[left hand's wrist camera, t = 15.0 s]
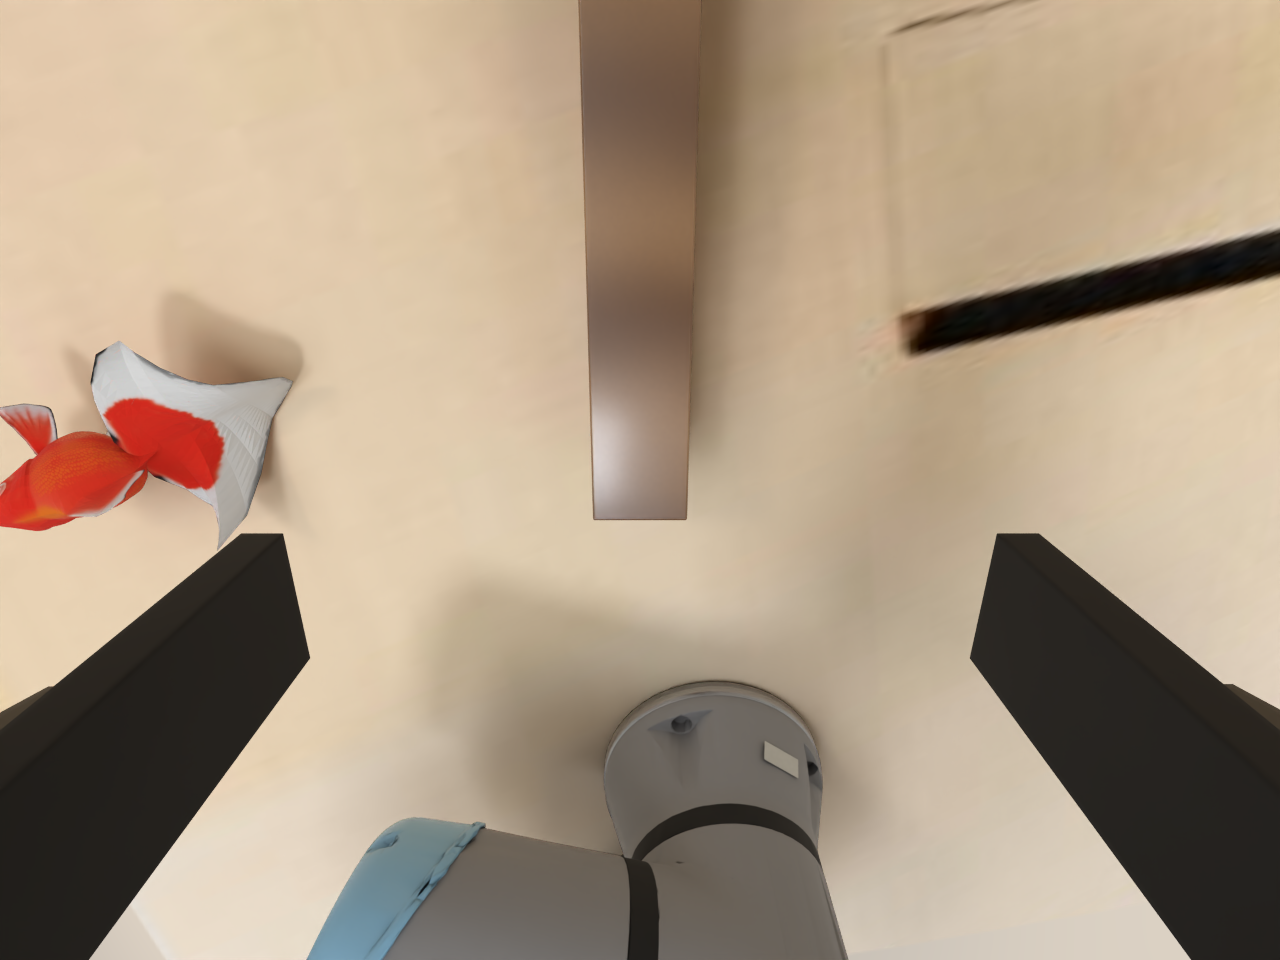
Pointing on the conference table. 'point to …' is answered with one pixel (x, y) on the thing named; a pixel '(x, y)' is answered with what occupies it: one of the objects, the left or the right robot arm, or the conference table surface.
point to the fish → (143, 445)
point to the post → (640, 248)
